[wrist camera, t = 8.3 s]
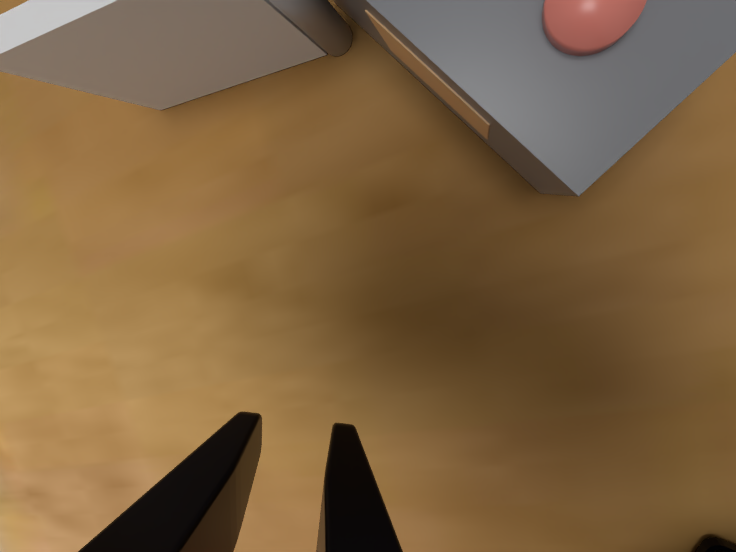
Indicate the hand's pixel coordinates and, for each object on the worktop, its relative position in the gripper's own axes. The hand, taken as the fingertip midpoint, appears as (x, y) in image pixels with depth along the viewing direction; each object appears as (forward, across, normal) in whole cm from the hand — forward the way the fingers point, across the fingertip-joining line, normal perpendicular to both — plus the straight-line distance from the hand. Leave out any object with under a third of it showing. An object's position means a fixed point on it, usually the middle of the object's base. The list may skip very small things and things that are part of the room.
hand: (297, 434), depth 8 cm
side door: (+15, +6, -7) cm, 18 cm away
